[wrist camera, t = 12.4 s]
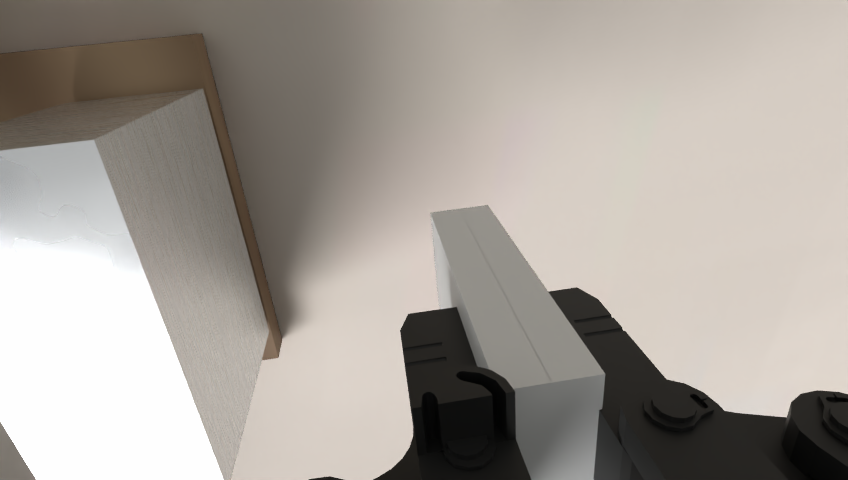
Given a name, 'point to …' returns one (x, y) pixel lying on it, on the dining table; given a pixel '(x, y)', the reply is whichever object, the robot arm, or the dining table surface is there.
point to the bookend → (124, 292)
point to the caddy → (128, 76)
